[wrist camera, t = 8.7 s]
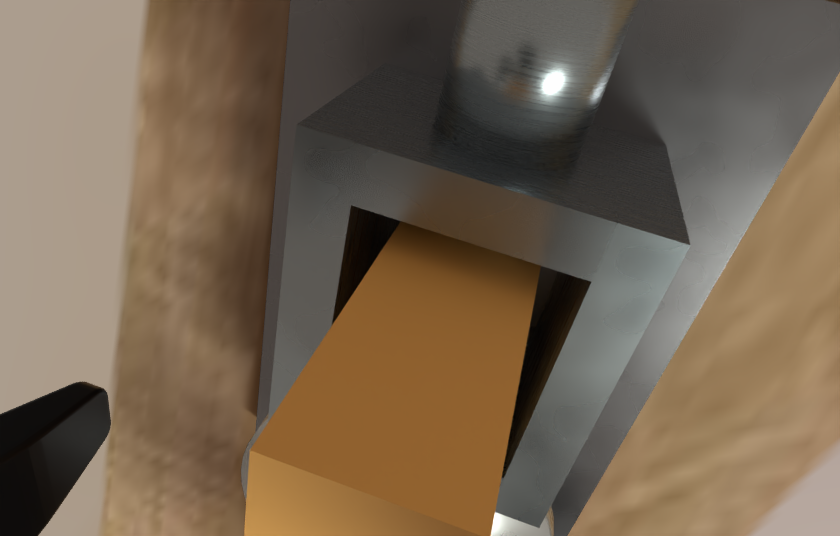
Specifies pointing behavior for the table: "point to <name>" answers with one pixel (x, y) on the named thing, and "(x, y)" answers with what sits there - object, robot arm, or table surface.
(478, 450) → the orange rectangular prism
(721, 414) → the table surface
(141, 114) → the table surface
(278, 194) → the bracket
